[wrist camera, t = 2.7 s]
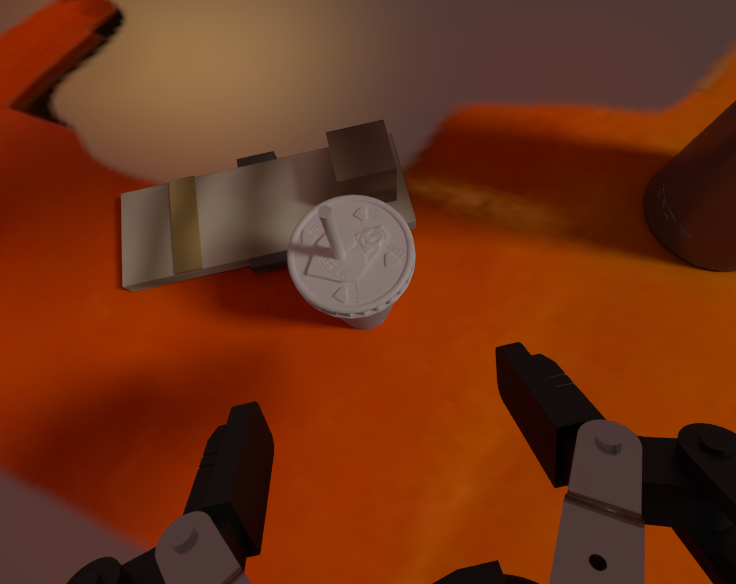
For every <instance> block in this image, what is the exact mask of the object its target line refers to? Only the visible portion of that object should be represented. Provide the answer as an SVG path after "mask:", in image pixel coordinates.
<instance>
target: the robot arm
mask: <svg viewBox="0 0 736 584" xmlns="http://www.w3.org/2000/svg"><path fill="white" fill-rule="evenodd" d="M644 204H645V212H646V216H647V219H648V222H649V225H650V227H651V228H652V230H653V232H654V233H655V235H656V236H657V238H658V239H659V240H660V241H661V242H662V243H663V244H664V245H665V246H666V247H667V248H668V249H669V250H670V251H672V252H673V253H674V254H676V255H677V256H678V257H680V258H682V259H684V260H685V261H687V262H689V263H691V264H693V265H696V266H699V267H702V268H705V269H709V270H716V271H722V272H726V271H736V101H734V102H733V103H732V104H731V105H730V106H729V107H728V108H727V109H726V110H725V111H724V112H723V113H722V114H720V115H719V116H718V117H717V118H716V119H715V120H714V121H713V122H712V123H711V124H710V125H709V126H708V127H706V128H705V129H704V130H703V131H702V132H701V133H700V134H699V135H698V136H697V137H696V138H694V139H693V140H692V141H691V142H690V143H689V144H688V145H687V146H686V147H685V148H684V149H683V150H681V151H680V152H679V153H678V154H677V155H676V156H675V157H674V158H673V159H672V160H671V161H670V162H669V163H668V164H666V165H665V166H664V167H663V168H662V169H661V170H660V171H659V172H658V173H657V174H656V175H655V176H654V178H653V179H652V180H651V181H650V184H649V186H648V188H647V190H646V195H645V202H644ZM495 352H496V369H497V384H498V389H499V392H500V395H501V398H502V400H503V402H504V404H505V405H506V407H507V409H508V411H509V412H510V414H511V416H512V417H513V419H514V421H515V422H516V424H517V426H518V427H519V429H520V431H521V432H522V434H523V436H524V437H525V439H526V441H527V442H528V444H529V446H530V447H531V449H532V451H533V453H534V454H535V456H536V458H537V459H538V461H539V463H540V464H541V466H542V468H543V469H544V471H545V473H546V474H547V476H548V478H549V479H550V481H551V483H552V484H553V486H554V488H558V487H562V486H567V485H568V492H567V494H565V498H564V503H563V509H562V515H561V520H560V526H559V532H558V537H557V543H556V549H555V554H554V560H553V566H552V571H551V577H550V583H549V584H644V541H645V529H644V524H647V525H656V526H666V527H671V528H672V529H673V530H674V532H675V533H676V534H677V536H678V537H679V538H680V540H681V541H682V542H683V544H684V545H685V546H686V548H687V549H688V550H689V552H690V553H691V554H692V556H693V557H694V559H695V560H696V561H697V563H698V564H699V565H700V567H701V568H702V569H703V571H704V572H705V573H706V575H707V576H708V577H709V579H710V580H711V581H712V583H713V584H736V433H734V432H732V431H730V430H727V429H725V428H723V427H719V426H716V425H712V424H705V423H695V424H689V425H687V426H684V427H683V428H682V429H681V430H680V431H679V434H678V438H656V437H642V436H637V435H635V433H633V432H632V431H631V430H630V429H628V428H627V427H625V426H623V425H621V424H619V423H616V422H613V421H609V420H606V419H605V418H604V417H603V416H602V415H601V413H600V412H599V411H598V410H597V409H596V408H595V407H594V406H593V404H592V403H591V402H590V401H589V400H588V399H587V398H586V396H585V395H584V394H583V393H582V392H581V391H580V390H579V389H578V387H577V386H576V385H574V384H573V382H572V381H571V379H570V378H569V377H568V376H567V375H565V373H564V371H563V370H562V369H561V368H560V367H559V366H558V365H557V364H556V362H554V361H553V360H551V359H549V358H547V357H545V356H544V355H542V354H536V355H532V356H531V354H530V353H529V352H528V351H527V350H526V348H525V347H524V346H523V345H522V344H521V343H520V342H517V343H512V344H508V345H503V346H499V347H496V351H495ZM203 456H204V457H202V460H201V463H200V466H199V467H200V469H198V472H197V475H196V478H195V481H194V484H193V487H192V490H191V493H190V495H189V498H188V501H187V504H186V507H185V510H184V513H183V516H181V517H180V518H178V519H177V520H175V521H174V522H173V523H172V524H171V525H170V526H169V527H168V528H167V529H166V530H165V531H164V533H163V534H162V535H161V537H160V539H159V541H158V543H157V546H156V547H154V548H153V549H151V550H149V551H147V552H146V553H144V554H142V555H140V556H138V557H136V558H134V559H133V560H131V561H129V562H127V563H125V564H123V565H121V564H120V563H119V562H118V561H117V560H116V559H115V558H112V557H103V558H99V559H97V560H95V561H93V562H91V563H89V564H87V565H86V566H85V567H83V568H82V569H80V570H79V571H78V572H77V573H76V574H75V575H74V576H73V577H72V578H71V579H70V580H69V581H68V583H67V584H251V583H250V581H249V579H248V578H247V576H246V575H245V573H244V570H245V564H246V558H247V557H251V556H256V555H260V552H261V545H262V538H263V530H264V523H265V516H266V508H267V501H268V494H269V486H270V479H271V472H272V464H273V457H274V442H273V437H272V434H271V432H270V429H269V427H268V425H267V422H266V420H265V418H264V416H263V413H262V411H261V409H260V406H259V404H258V403H257V402H250V403H246V404H242V405H237V406H233V407H232V408H231V411H230V414H229V417H228V421H227V424H226V425H221V426H218V428H217V429H216V430H215V432H214V433H213V434H212V436H211V437H210V438H209V440H208V442H207V445H206V448H205V451H204V454H203ZM433 584H538V583H536V582H534V581H532V580H529V579H526V578H523V577H519V576H514V575H507V574H503V573H502V570H501V567H500V565H499V562H498V560H497V561H493V562H488V563H484V564H480V565H475V566H471V567H467V568H462V569H458V570H456V571H454V572H452V573H450V574H449V575H447V576H445V577H443V578H442V579H440V580H438V581H436V582H435V583H433Z"/></svg>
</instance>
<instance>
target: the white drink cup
mask: <svg viewBox="0 0 736 584" xmlns="http://www.w3.org/2000/svg"><path fill="white" fill-rule="evenodd" d="M415 257H416V255H415V247H414V240H413V236H412V233H411V231H410V228H409V226H408V225H407V223H406V221H405V220H404V219H403V217H402V216H401V215H400V214H399V213H398V212H397V211H396V210H395V209H394V208H392V207H391V206H390V205H388V204H386V203H384V202H383V201H380V200H378V199H375V198H372V197H368V196H362V195H345V196H339V197H335V198H331V199H329V200H326V201H324V202H322V203H320V204H318V205H317V206H315V207H314V208H312V209H311V210H310V211H309V212H307V213H306V214H305V215H304V216H303V217H302V219H301V220H300V221H299V222H298V224H297V225H296V227H295V229H294V231H293V232H292V235H291V237H290V240H289V244H288V250H287V263H288V269H289V273H290V276H291V278H292V280H293V282H294V284H295V286H296V288H297V290H298V291H299V292H300V294H301V295H302V297H303V298H304V299H305V301H307V302H308V303H309V304H310V305H312V306H313V307H314V308H316V309H317V310H318V311H321V312H323V313H326V314H328V315H331V316H333V317H339V318H340V319H342V320H343V321H344V322H346V323H347V324H349V325H350V326H352V327H354V328H356V329H361V330H368V329H372V328H375V327H377V326H379V325H380V324H381V323H383V322H384V320H385V319H386V318H387V316H388V314H389V312H390V310H391V307H392V305H393V303H394V302H395V301H397V300H398V299H399V297H400V296H401V295H402V293H403V292H404V291H405V290H406V288H407V287H408V285H409V283H410V280H411V278H412V275H413V273H414V266H415Z"/></svg>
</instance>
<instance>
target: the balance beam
mask: <svg viewBox="0 0 736 584" xmlns="http://www.w3.org/2000/svg"><path fill="white" fill-rule="evenodd" d="M326 135H327V139H328V143H329V147H328V148H323V149H319V150H315V151H311V152H306V153H301V154H297V155H292V156H288V157H283V158H279V159H277V158H276V156H275V154H274V152H268V153H263V154H259V155H254V156H250V157H245V158H241V159H237V165H238V168H234V169H230V170H225V171H221V172H217V173H212V174H208V175H203V176H198V177H194V176H191V177H186V178H182V179H177V180H173V181H169V183H167V184H163V185H158V186H154V187H149V188H145V189H140V190H136V191H131V192H127V193H122V194H121V228H122V287H124V288H126V289H128V290H130V291H132V292H134V291H139V290H143V289H148V288H152V287H157V286H161V285H166V284H170V283H175V282H179V281H184V280H188V279H192V278H197V277H201V276H206V275H210V274H215V273H219V272H224V271H228V270H233V269H237V268H242V267H246V266H250V267H251V269H252V270H253V271H254V272H255V273H256V274H259V273H263V272H268V271H272V270H277V269H281V268H286V267H288V263H287V250H288V244H289V240H290V237H291V235H292V232H293V231H294V229H295V227H296V225H297V224H298V222H299V221H300V220H301V219H302V217H303V216H304V215H305V214H306V213H307V212H309V211H310V210H311V209H312V208H314V207H315V206H317V205H318V204H320V203H322V202H324V201H326V200H329V199H331V198H335V197H339V196H345V195H362V196H368V197H372V198H375V199H378V200H380V201H383V202H384V203H386V204H388V205H390V206H391V207H392V208H394V209H395V210H396V211H397V212H398V213H399V214H400V215H401V216H402V217H403V219H404V220H405V221H406V223H407V225H408V226H409V228H410V230H411V229H416V218H415V215H414V211H413V207H412V204H411V200H410V197H409V193H408V190H407V186H406V183H405V179H404V176H403V172H402V169H401V165H400V162H399V158H398V155H397V151H396V148H395V144H394V140H393V138H392V134H387V131H386V128H385V124H384V120H379V121H375V122H371V123H366V124H362V125H357V126H352V127H348V128H344V129H339V130H335V131H330V132H326Z"/></svg>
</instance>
